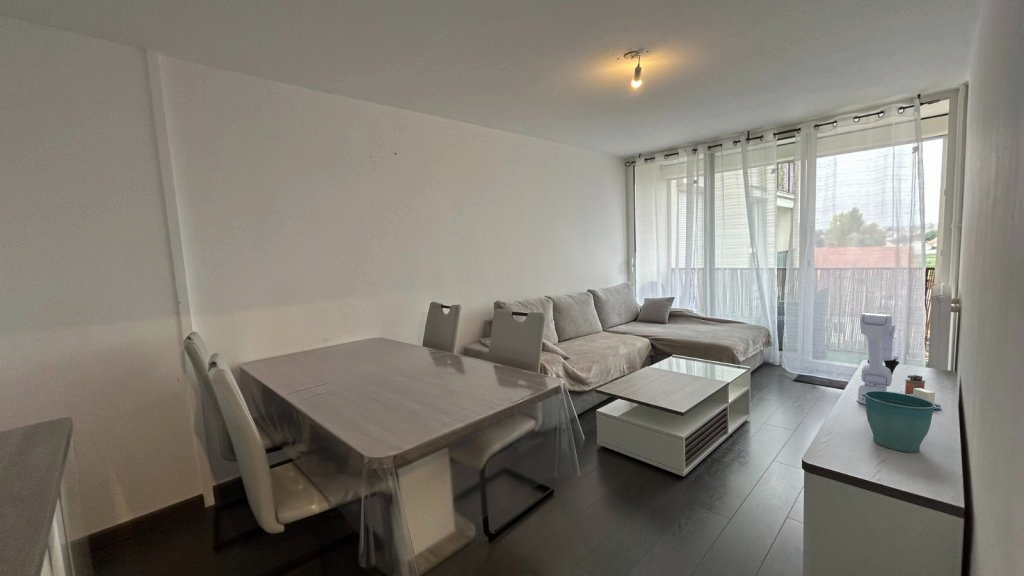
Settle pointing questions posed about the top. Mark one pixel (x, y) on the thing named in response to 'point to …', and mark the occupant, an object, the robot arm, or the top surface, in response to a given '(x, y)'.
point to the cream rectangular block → (924, 394)
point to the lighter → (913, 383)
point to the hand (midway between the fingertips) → (882, 375)
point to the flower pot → (898, 419)
